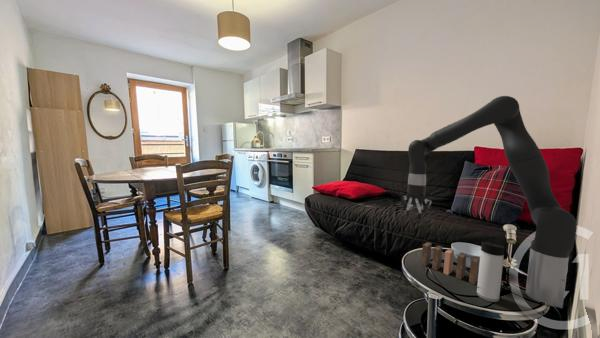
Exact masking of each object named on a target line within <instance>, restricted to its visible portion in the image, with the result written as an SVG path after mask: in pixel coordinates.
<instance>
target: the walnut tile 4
mask: <svg viewBox="0 0 600 338" xmlns="http://www.w3.org/2000/svg"><path fill="white" fill-rule="evenodd" d="M479 263H480V258H479V257H476V256H474V257H473V258H472V259H471V265H470V268H469V277H468V283H469V284H471V285H473V286H475V285H476V284H477V283H478V274H479Z"/></svg>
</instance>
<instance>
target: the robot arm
mask: <svg viewBox="0 0 600 338" xmlns="http://www.w3.org/2000/svg"><path fill="white" fill-rule="evenodd" d="M491 125H494V126H495V127H496V129H497V132H498V133H499V135H500V139H501V141H502V146H503V150H504V155H505V158H506V160H507V163H508V165H509V168H510V170H511V171H512V174H513V176H514V177H515V180H516V182H517V184H518V186H519V187H520V189H521V190H522V192H523V194H524V197H525V199H526V203H527V206H528V209H529V212H530V217H531V220H532V223H534V224H535V225H536V229H535V235H534V239H532V240H531V242H530V248H529V257H528V259H529V260H528V268H527V277H526V286H525V294H526V296H528V297H529V298H530V299H532V300H534V301H536V302H537V303H540V302H543V303H546V304H547V305H546V304H545V305H546V306H549V307H554V308H555V307H556V308H559V309H563V307H564V299H565V294H566V293H565V292H566V283H567V276H568V275H567V273H568V267H569V261H570V260H569V259H570V253H571V252H572V251H573V249H574V244H575V240H576V234H577V229H578V228H577V227H578V225H577V219H576V218H575V217H574V215H573V214H571V213H570V212H569V211H567V210H565V209H563V208H562V206H561V205H560V203H559V202H558V201H557V198H556V197H555V195H554V193H553V190H552V187H551V182H550V181H551V180H550V171H549V167H548V165H547V161H545V158H544V156H543V154H542V151H541V150H540V148H539V146H538V145H537V143H536V141H535V140H534V139H533V138H532V136H531V135H530V133H529V132H528V130H527V128H526V126H525V123H524V121H523V118H522V113H521V109H520V104H519V102H518V100H517V99H516V98H515V97H513V96H510V95H509V96H508V95H501V96H498V97H494V99H492V100H490V101H489V102H488V103H486V104H485V105H483V106H482V107H480V108H479V109H477V110H476V111H474V112H472V113H471V114H469V115H467V116H465V117H463V118H461V119H458V120H457V121H454V122H452V123H450V124H448V125H446V126H444V127H442V128H440V129H438V130H435V131H433V132H432V133H430V135H429V136H426V137H425V138H423V139H421V140H420V139H416V140H413V141H411V142H410V143H409V146H408V151H407V152H408V153H407V155H408V162H409V166H408V167H409V171H408V177H407V190H406V191H407V193H406V194H405V195H400V201H401V207H402V208H403V209H405V210H406V215H405V216H406V218H407V219H411V218H412V208H413V206H414V205H415V206H416V208H417V210H418V213H417V221H418V222H421V221H422V220H423V218H424V216H423V215H424V214H426V213H428V212H429V209H430V207H431V206H432V203H433V201H432V200H430V199H427V198H426V189H427V187H426V186H427V162H426V161H425V155H428V154H430V153H431V152H434V151H435V150H437V149H439V148H441V147H444V146H446V145H448V144H452V143H453V142H455V141H457V140H459V139H461V138H463V137H464V136H467V135H468V134H470V133H472V132H474V131H476V130H480V129H481V128H484V127H486V126H491ZM423 203H424V204H425V206H424V204H423ZM543 303H542V304H543Z"/></svg>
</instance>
